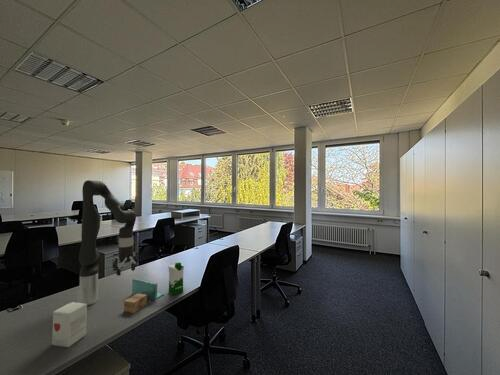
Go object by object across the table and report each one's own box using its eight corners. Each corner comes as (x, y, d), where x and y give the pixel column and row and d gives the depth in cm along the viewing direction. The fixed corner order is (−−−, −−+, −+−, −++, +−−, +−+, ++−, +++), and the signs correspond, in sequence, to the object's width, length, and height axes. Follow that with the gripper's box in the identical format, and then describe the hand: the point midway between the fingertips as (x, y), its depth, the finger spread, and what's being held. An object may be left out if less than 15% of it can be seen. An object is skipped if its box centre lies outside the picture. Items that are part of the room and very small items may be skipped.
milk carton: (173, 296, 142) (174, 265, 142) (166, 292, 148) (166, 262, 148) (185, 291, 149) (185, 262, 149) (177, 288, 155) (178, 259, 155)
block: (134, 313, 122) (134, 302, 123) (124, 311, 124) (124, 300, 124) (146, 304, 132) (147, 294, 132) (137, 302, 134) (137, 293, 134)
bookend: (154, 300, 137) (155, 284, 137) (132, 294, 145) (132, 279, 145) (163, 294, 144) (164, 279, 144) (141, 289, 152) (142, 275, 152)
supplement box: (51, 345, 96) (51, 311, 97) (70, 332, 105) (71, 301, 106) (68, 347, 95) (69, 313, 95) (86, 334, 104) (87, 303, 104)
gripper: (117, 248, 118) (117, 278, 118) (141, 242, 131) (141, 269, 130) (109, 247, 121) (109, 276, 121) (133, 241, 134) (133, 267, 134)
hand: (126, 272), depth 126 cm, fingers open, 8 cm apart
